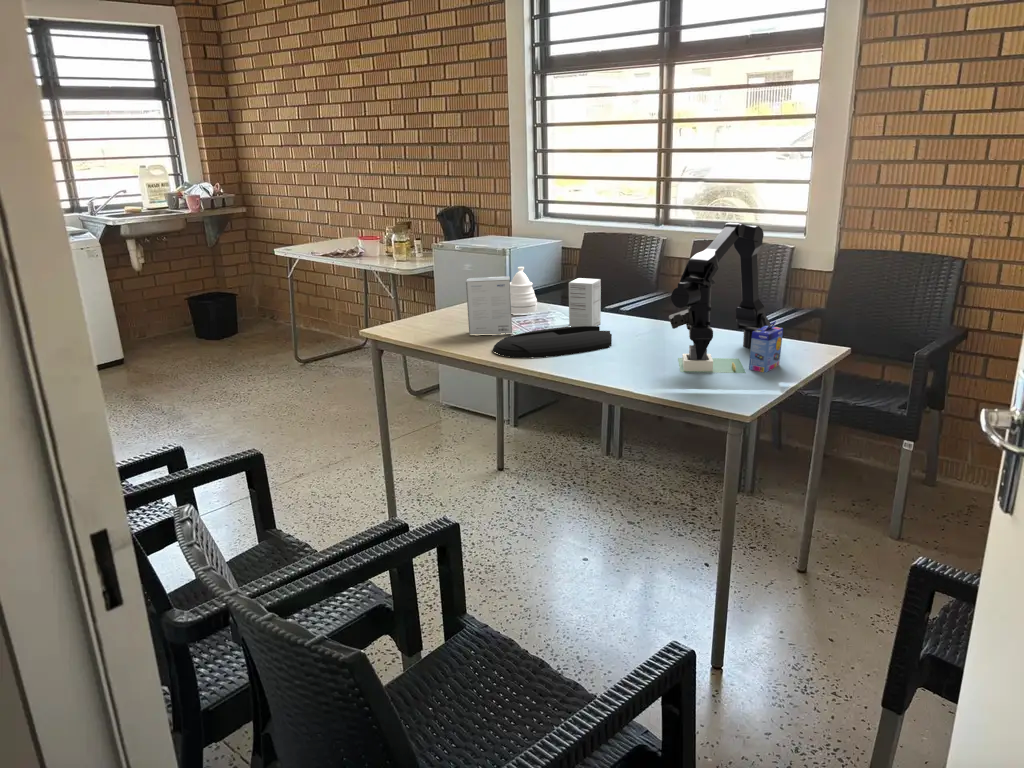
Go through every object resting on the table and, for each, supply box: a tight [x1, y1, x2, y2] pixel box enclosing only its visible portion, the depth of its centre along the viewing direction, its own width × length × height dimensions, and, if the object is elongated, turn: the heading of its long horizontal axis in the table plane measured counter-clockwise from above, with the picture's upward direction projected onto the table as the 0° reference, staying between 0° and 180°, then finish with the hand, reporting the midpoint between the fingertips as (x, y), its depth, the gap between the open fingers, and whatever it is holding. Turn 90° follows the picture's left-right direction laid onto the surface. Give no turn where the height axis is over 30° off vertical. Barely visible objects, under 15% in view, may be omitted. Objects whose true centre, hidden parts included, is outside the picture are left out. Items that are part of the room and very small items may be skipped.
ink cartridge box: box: [748, 320, 784, 373], centre depth 215 cm, size 10×6×14 cm, turn 138°
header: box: [681, 353, 713, 371], centre depth 218 cm, size 8×8×3 cm
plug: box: [688, 344, 708, 360], centre depth 218 cm, size 4×4×7 cm
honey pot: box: [510, 266, 538, 313], centre depth 301 cm, size 13×13×18 cm
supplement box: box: [568, 277, 602, 327], centre depth 276 cm, size 10×9×17 cm
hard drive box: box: [465, 275, 513, 335], centre depth 268 cm, size 16×8×20 cm, turn 89°
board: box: [677, 357, 747, 374], centre depth 220 cm, size 15×18×2 cm
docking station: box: [492, 325, 613, 358], centre depth 251 cm, size 25×41×5 cm, turn 112°
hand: (697, 355), depth 218 cm, fingers open, 9 cm apart
